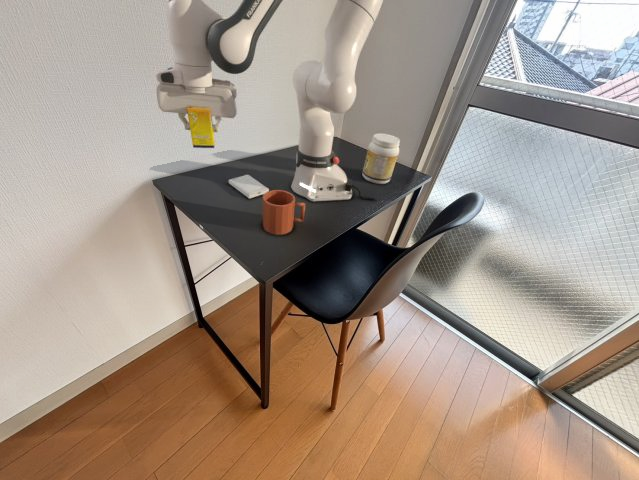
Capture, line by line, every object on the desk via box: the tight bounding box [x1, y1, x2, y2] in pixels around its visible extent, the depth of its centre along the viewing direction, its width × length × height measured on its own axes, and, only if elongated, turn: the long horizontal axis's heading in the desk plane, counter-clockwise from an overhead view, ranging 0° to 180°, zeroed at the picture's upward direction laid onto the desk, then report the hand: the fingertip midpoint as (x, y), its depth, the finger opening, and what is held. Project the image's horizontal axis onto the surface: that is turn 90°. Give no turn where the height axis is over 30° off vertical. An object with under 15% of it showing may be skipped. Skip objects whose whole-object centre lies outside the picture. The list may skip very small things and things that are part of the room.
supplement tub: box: [361, 132, 401, 185], centre depth 109 cm, size 12×12×17 cm
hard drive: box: [228, 174, 270, 199], centre depth 95 cm, size 2×8×12 cm
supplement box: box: [187, 107, 216, 149], centre depth 79 cm, size 6×6×11 cm
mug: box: [262, 189, 306, 236], centre depth 77 cm, size 12×9×10 cm
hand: (202, 130), depth 80 cm, fingers closed on supplement box, 6 cm apart
